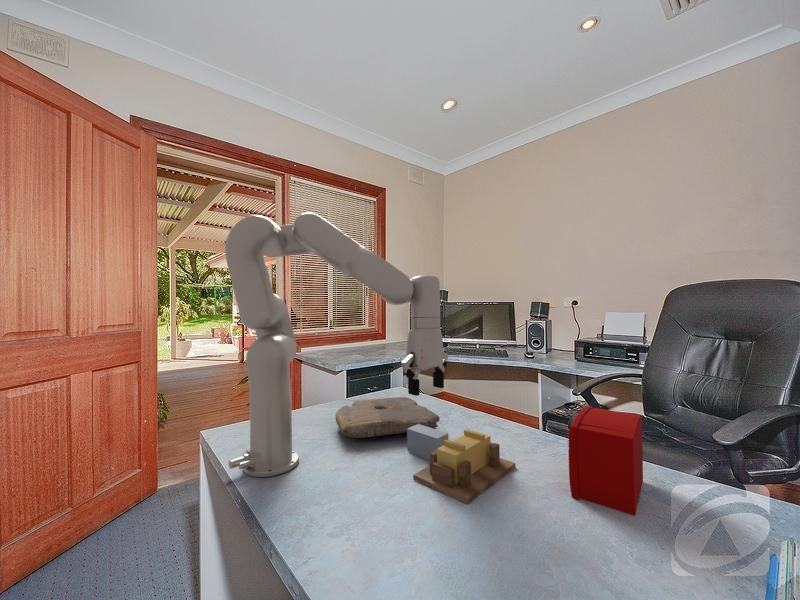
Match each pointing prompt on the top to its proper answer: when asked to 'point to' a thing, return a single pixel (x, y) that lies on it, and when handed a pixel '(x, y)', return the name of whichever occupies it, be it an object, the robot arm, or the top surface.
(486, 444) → the tan toy brick
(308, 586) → the top surface
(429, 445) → the grey rectangular block
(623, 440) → the fire alarm
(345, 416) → the stone slab
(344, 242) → the robot arm
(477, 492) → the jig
